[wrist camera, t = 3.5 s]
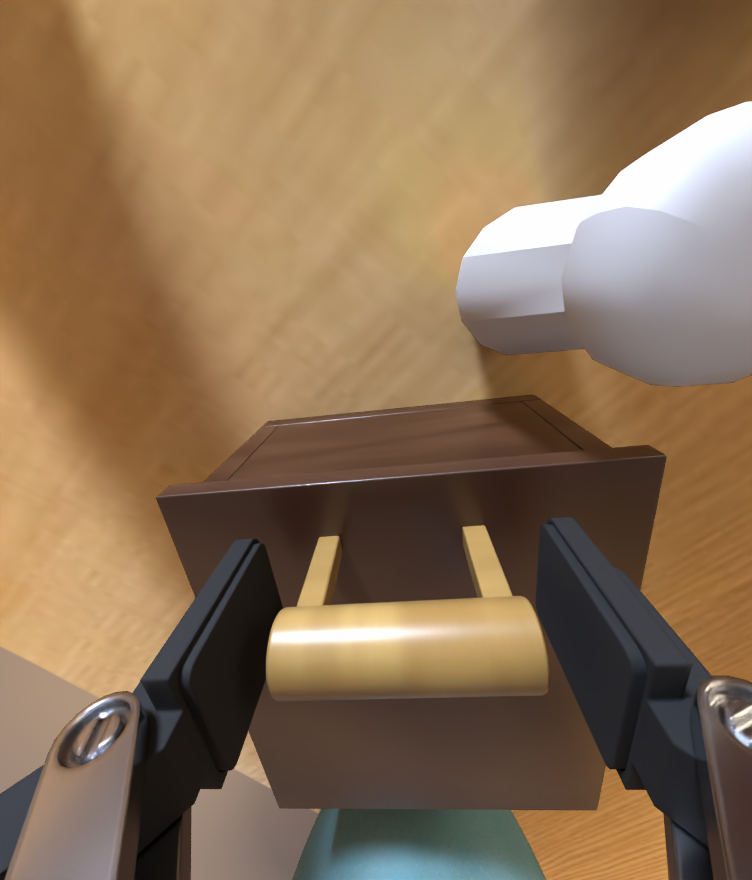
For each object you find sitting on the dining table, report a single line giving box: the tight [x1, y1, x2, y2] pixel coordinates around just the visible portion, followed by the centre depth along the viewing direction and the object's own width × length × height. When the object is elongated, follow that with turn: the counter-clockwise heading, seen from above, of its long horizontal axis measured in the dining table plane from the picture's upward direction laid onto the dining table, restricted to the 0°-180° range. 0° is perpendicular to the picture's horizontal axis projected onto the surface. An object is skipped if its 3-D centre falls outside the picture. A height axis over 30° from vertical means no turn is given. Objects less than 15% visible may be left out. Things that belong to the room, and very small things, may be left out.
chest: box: [203, 395, 612, 483], centre depth 19 cm, size 17×15×9 cm
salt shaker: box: [455, 102, 752, 387], centre depth 11 cm, size 6×6×13 cm
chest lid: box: [156, 445, 666, 810], centre depth 12 cm, size 18×15×5 cm
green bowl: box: [293, 809, 546, 880], centre depth 26 cm, size 18×18×12 cm
